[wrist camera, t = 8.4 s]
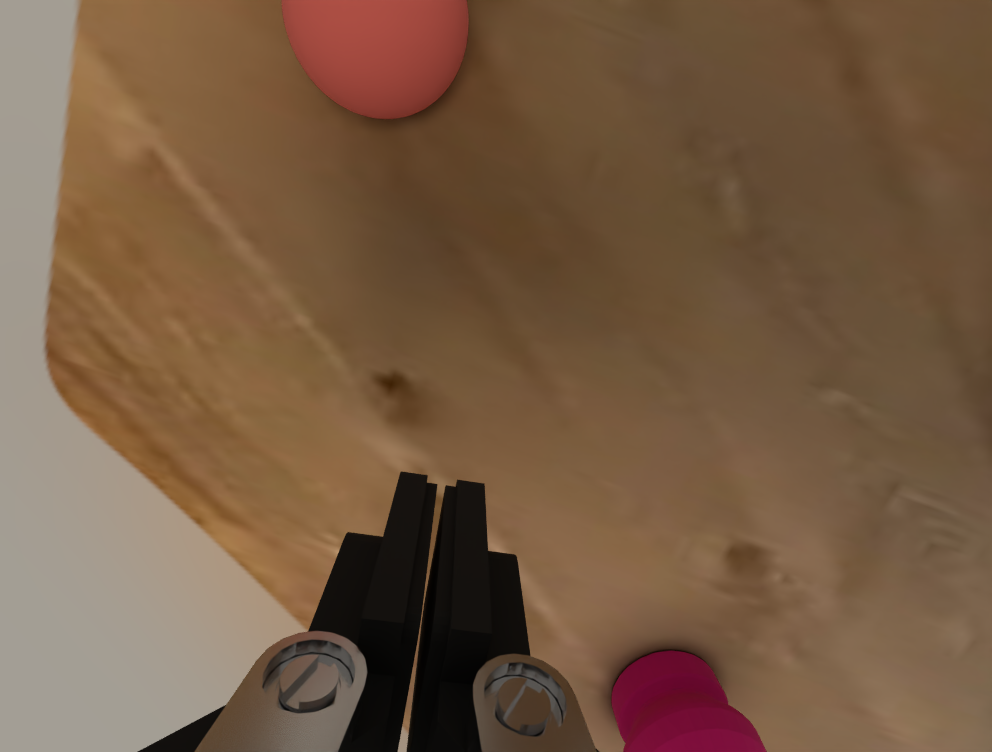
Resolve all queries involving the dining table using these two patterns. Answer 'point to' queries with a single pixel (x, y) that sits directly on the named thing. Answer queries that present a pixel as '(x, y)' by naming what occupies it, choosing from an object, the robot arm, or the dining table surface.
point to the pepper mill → (678, 708)
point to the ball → (379, 50)
